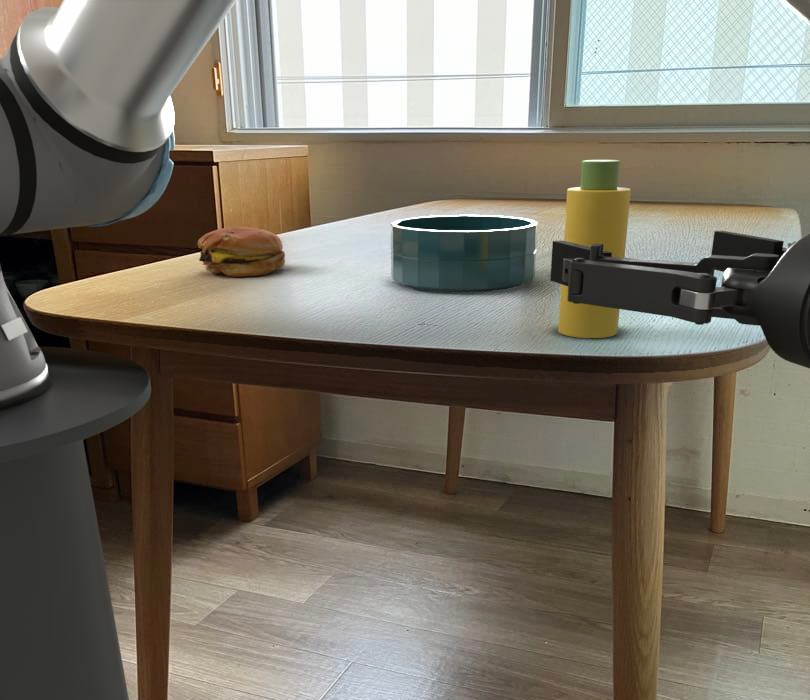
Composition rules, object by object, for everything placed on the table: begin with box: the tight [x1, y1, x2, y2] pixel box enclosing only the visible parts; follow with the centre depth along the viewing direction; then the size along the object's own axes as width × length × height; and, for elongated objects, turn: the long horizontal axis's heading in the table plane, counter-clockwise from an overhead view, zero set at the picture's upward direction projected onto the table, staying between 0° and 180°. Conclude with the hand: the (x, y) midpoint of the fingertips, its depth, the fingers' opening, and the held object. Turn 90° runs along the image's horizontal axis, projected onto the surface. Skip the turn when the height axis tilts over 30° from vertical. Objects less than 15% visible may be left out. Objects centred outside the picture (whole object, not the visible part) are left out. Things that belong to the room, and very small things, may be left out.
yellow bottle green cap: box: [557, 159, 632, 339], centre depth 70 cm, size 5×5×13 cm
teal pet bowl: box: [390, 214, 538, 294], centre depth 94 cm, size 15×15×6 cm
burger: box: [196, 226, 286, 278], centre depth 102 cm, size 10×9×5 cm
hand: (638, 254), depth 65 cm, fingers open, 13 cm apart
